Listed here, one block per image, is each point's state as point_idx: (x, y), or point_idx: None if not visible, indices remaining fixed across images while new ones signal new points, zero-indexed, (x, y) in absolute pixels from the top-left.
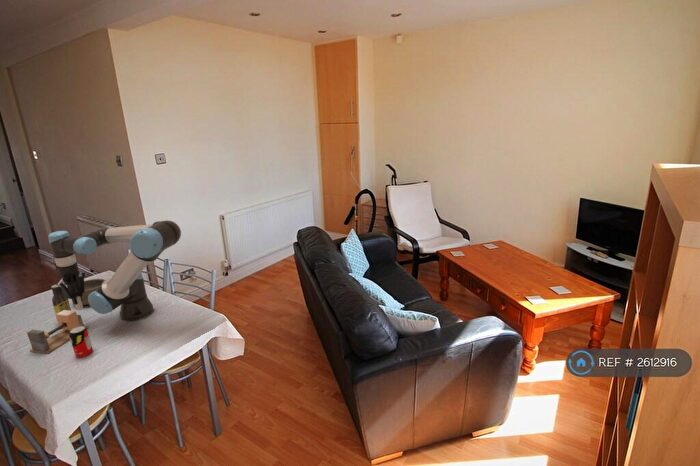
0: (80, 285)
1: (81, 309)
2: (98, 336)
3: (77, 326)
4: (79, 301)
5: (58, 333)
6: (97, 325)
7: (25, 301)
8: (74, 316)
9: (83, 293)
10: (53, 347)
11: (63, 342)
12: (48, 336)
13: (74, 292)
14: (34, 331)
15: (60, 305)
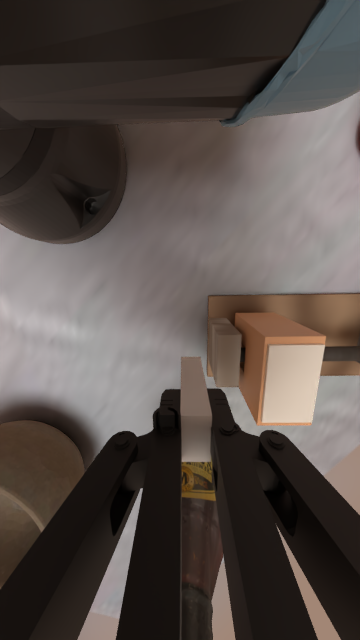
0: (82, 573)
1: (194, 357)
2: (258, 192)
3: (248, 313)
4: (196, 388)
5: None
6: (183, 277)
7: (113, 610)
8: (271, 328)
9: (45, 493)
10: (357, 303)
11: (323, 295)
12: None
13: (241, 489)
14: None
15: (208, 485)
